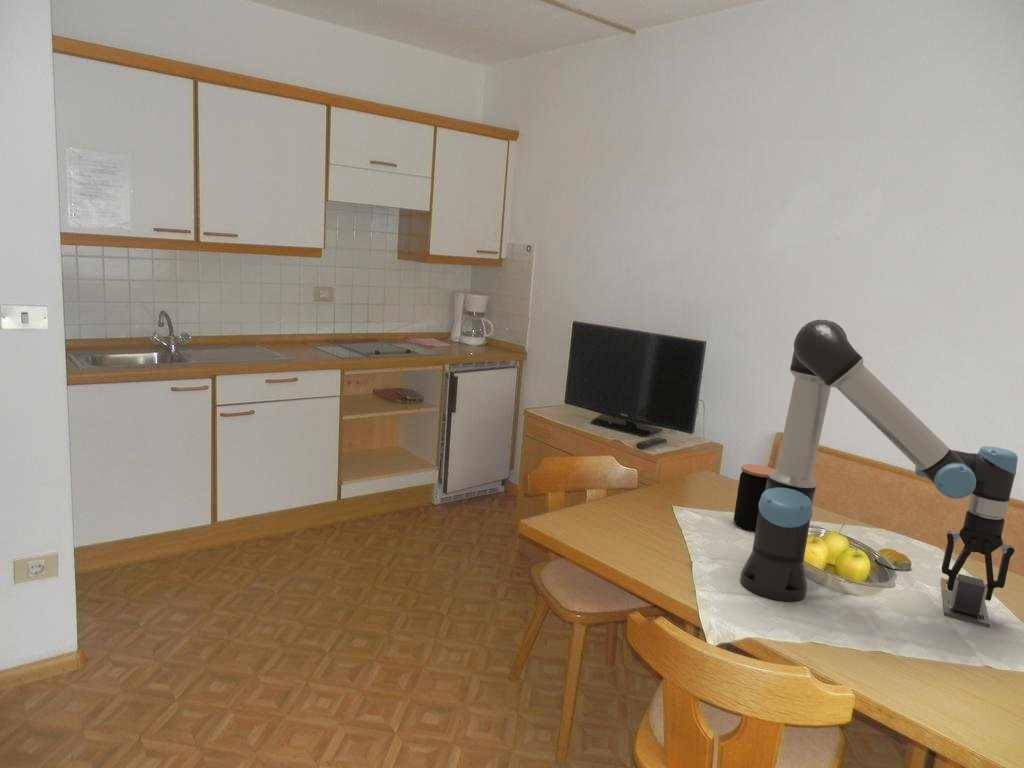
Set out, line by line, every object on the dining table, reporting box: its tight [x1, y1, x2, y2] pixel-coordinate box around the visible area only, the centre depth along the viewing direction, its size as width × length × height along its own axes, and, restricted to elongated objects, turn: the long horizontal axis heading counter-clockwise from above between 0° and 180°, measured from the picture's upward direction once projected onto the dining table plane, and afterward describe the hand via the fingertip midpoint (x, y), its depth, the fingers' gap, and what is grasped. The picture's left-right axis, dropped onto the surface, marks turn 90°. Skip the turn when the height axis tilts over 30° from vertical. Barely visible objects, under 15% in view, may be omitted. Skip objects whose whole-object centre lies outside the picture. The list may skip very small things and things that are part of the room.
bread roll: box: [876, 548, 912, 571], centre depth 195 cm, size 8×9×4 cm
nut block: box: [951, 573, 985, 619], centre depth 167 cm, size 5×5×8 cm
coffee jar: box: [733, 463, 776, 532], centre depth 214 cm, size 11×11×18 cm
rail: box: [940, 577, 991, 628], centre depth 174 cm, size 24×9×1 cm, turn 151°
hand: (965, 607), depth 168 cm, fingers closed on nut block, 5 cm apart
